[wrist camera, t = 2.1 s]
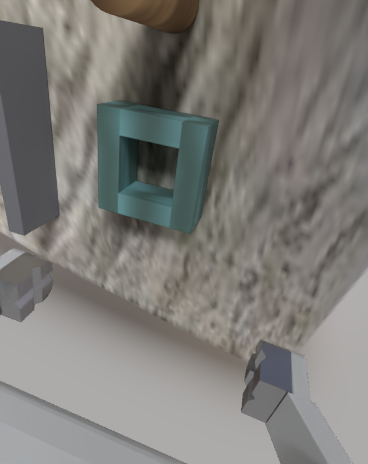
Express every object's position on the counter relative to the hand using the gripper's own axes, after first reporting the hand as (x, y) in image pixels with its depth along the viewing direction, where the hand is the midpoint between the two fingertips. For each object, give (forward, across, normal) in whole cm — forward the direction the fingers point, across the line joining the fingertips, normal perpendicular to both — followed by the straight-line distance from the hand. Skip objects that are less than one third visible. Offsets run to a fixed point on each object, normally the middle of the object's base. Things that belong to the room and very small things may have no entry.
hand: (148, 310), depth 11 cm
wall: (+21, +21, +3) cm, 30 cm away
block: (+21, +7, +2) cm, 22 cm away
